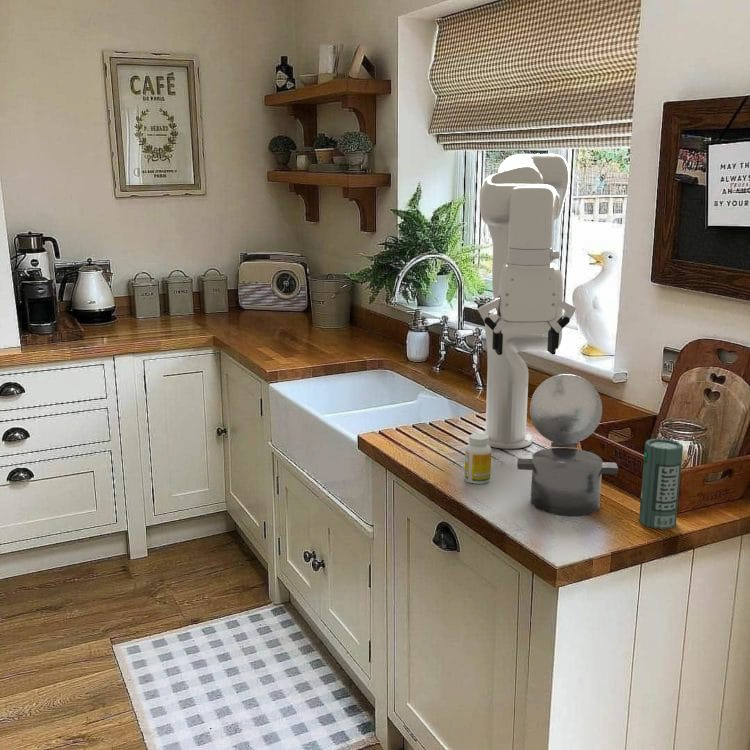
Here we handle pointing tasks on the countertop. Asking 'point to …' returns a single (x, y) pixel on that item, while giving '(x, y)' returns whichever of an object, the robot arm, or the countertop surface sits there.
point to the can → (660, 483)
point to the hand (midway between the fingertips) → (525, 353)
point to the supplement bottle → (478, 459)
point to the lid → (565, 410)
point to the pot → (566, 480)
